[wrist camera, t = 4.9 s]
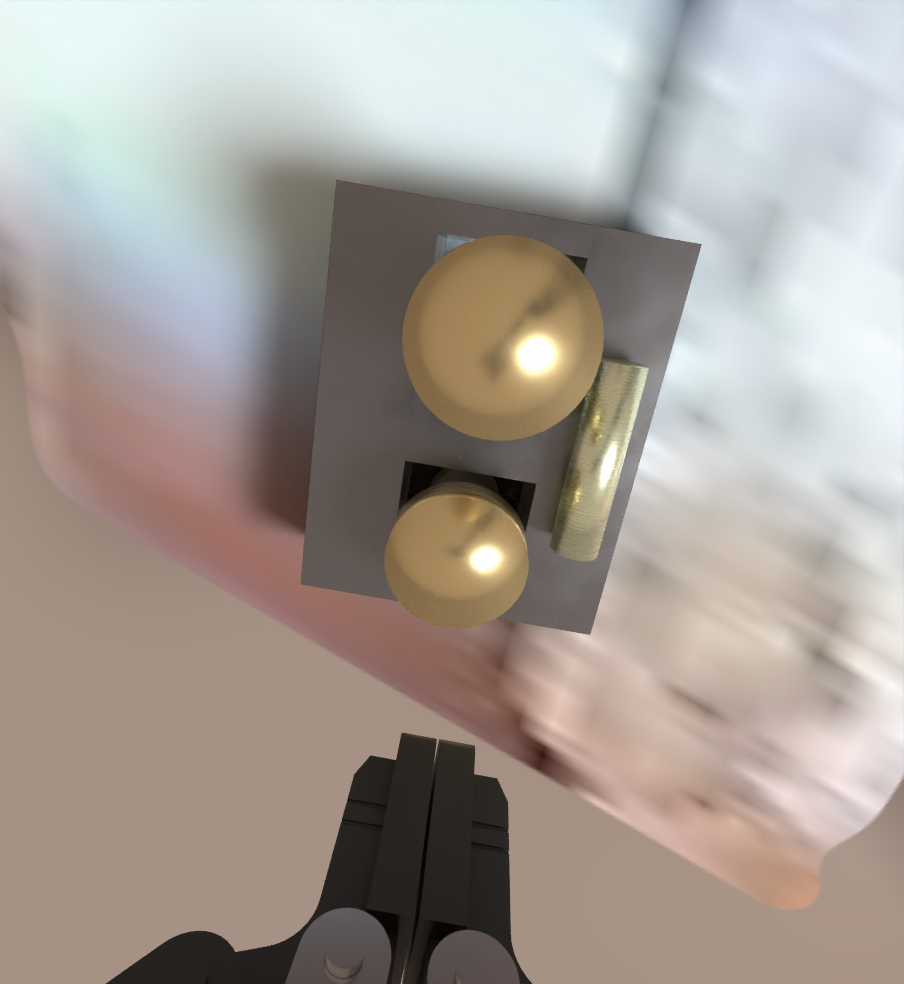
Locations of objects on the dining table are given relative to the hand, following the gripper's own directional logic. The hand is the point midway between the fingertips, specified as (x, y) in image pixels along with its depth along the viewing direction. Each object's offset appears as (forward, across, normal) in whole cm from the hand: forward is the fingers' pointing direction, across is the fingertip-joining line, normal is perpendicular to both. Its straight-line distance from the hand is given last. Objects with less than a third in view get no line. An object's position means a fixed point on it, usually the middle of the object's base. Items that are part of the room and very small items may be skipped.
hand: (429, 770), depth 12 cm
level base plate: (+16, 0, -4) cm, 17 cm away
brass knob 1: (+13, 0, -8) cm, 15 cm away
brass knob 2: (+16, 0, 0) cm, 16 cm away
